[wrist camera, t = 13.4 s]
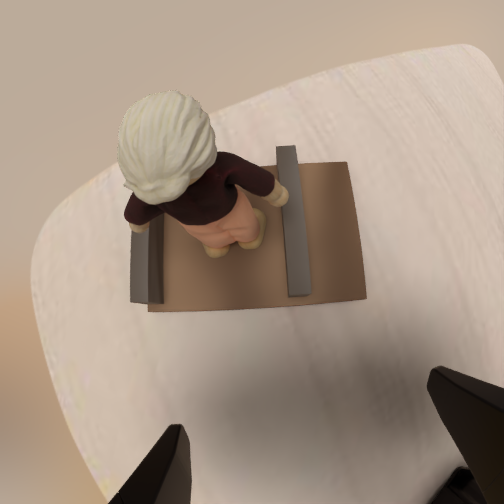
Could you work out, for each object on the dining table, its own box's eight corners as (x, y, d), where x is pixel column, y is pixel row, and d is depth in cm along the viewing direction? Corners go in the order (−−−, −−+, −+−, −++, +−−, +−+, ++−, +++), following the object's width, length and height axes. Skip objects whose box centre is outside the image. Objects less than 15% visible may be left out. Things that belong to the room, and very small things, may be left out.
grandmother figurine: (268, 187, 20) (251, 32, 8) (291, 238, 19) (307, 111, 7) (163, 230, 20) (40, 132, 8) (180, 283, 19) (41, 230, 7)
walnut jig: (344, 167, 21) (354, 143, 17) (363, 299, 19) (379, 295, 15) (155, 184, 22) (137, 164, 18) (152, 311, 20) (130, 310, 16)
